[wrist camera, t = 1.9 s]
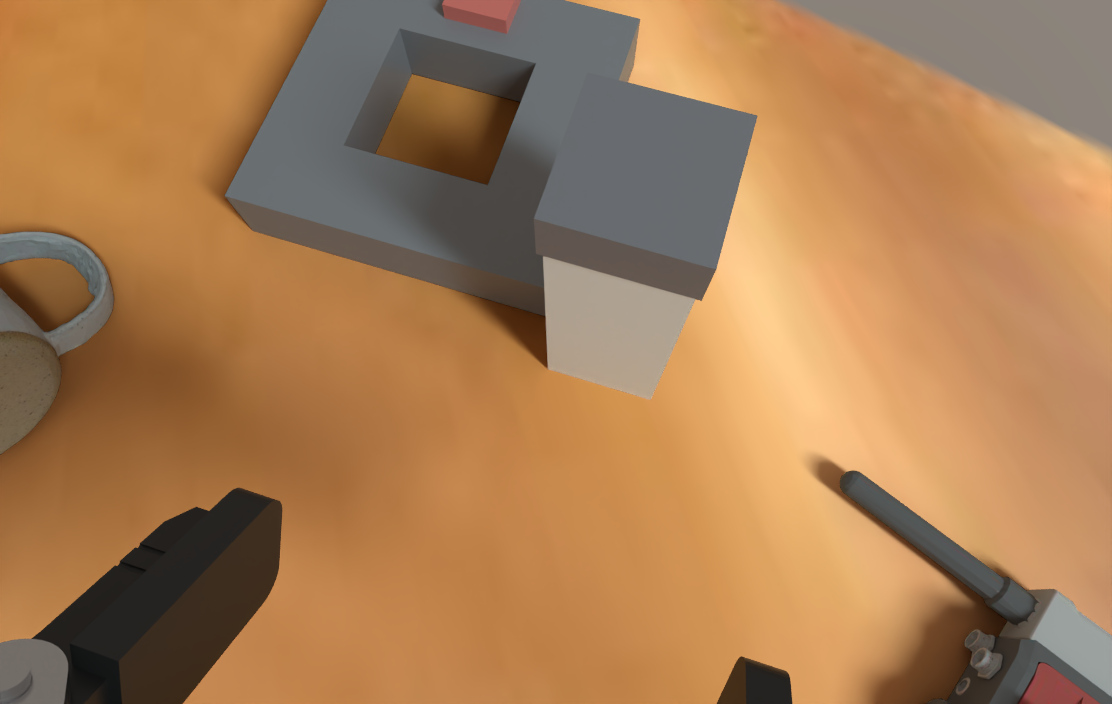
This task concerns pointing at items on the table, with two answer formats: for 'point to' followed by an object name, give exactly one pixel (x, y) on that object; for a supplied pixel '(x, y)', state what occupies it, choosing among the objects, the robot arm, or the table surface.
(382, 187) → the socket
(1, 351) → the ceramic mug
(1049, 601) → the walkie-talkie
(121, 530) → the table surface
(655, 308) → the plug
